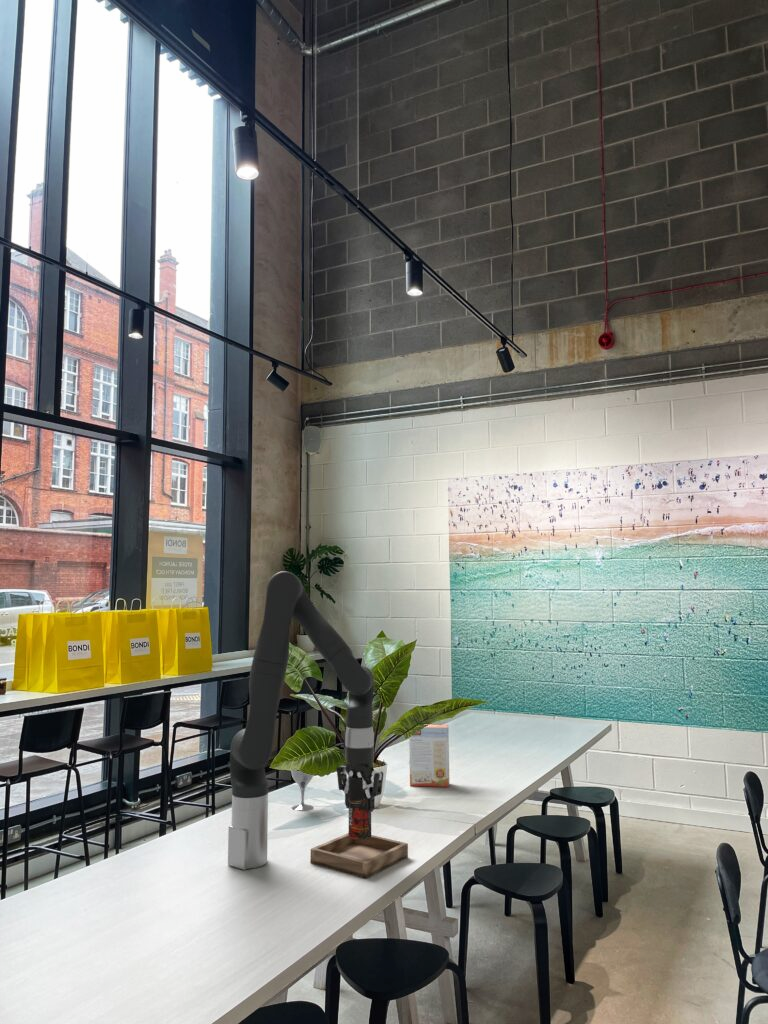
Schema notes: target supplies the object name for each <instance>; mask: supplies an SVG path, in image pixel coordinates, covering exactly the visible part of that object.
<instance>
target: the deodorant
mask: <svg viewBox="0 0 768 1024" xmlns="http://www.w3.org/2000/svg"><path fill="white" fill-rule="evenodd" d="M364 780H365V779H364ZM365 782H366V784H367V785H369V784H371V779H368V781H366V780H365ZM363 785H364V784H363V779H359V778H358V777H349V808H348V833H349V837H350V838H352V839H367V838H370V837H371V835H372V812H370V813H367V812H366V798H367V796H366V793H365V790H364V789H363ZM369 790H370V788H369Z"/></svg>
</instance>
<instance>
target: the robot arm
mask: <svg viewBox="0 0 768 1024" xmlns="http://www.w3.org/2000/svg"><path fill="white" fill-rule="evenodd" d="M263 612H264V613H263V620H262V624H261V628H260V631H259V633H258V637H257V641H256V645H255V650H254V654H253V658H252V662H251V667H250V671H249V680H248V694H249V712H248V718H247V721H246V726H245V728H243V729H241V730H238V732H236V734H235V735H234V736H233V738H232V740H231V743H230V750H229V752H230V753H229V769H230V770H229V777H230V784H231V792H232V793H231V825H229V826H228V833H227V835H228V836H227V840H228V841H227V842H228V845H227V865H228V866H230V867H234V868H237V869H240V870H243V871H244V870H248V869H255V868H259V867H262V866H264V865H266V864H267V863H268V839H269V838H268V831H269V830H268V826H269V825H268V824H269V823H268V822H269V781H268V779H267V775H266V771H265V770H266V769H265V766H266V765H267V763H268V762H269V760H270V759H271V756H272V754H273V748H274V741H275V740H274V738H275V728H276V720H277V714H278V709H279V705H280V701H281V696H282V692H283V686H284V681H285V678H286V673H287V669H288V662H289V657H290V656H289V654H290V634H291V633H290V632H291V631H290V629H291V623H292V619H294V620H295V621H296V622H297V623H298V624H299V626H300V627H301V628H302V630H303V631H304V632H305V634H306V636H307V637H308V638H309V640H310V641H311V643H312V645H313V646H314V647H315V648H316V650H317V651H318V652H319V653H320V655H321V657H323V659H324V660H325V661H326V662H327V663H328V665H330V667H331V668H332V670H333V671H334V673H335V674H336V676H337V678H338V679H339V682H340V683H341V684H342V686H343V687H344V688H345V689H346V690H347V691H348V704H347V707H346V711H345V712H346V718H345V719H346V722H345V724H346V727H345V728H346V729H345V736H344V737H345V746H344V747H345V748H344V749H345V757H344V760H345V761H344V762H345V763H346V765H343V764H342V765H340V766H337V767H336V775H337V783H338V784H337V786H338V790H339V791H343V792H344V801H345V802H344V804H345V806H346V809H349V777H358V778H359V779H363V784H364V785H363V789H364V790H365V793H366V796H367V798H366V812H367V813H370V812H371V813H372V812H373V811H374V810H375V808H376V806H375V802H376V801H375V797H377V796H380V795H382V789H383V781H384V780H383V779H384V772H383V771H376V770H375V769H374V765H373V764H374V761H375V741H374V740H375V735H374V723H373V722H374V721H373V719H374V718H373V716H374V713H373V712H374V711H373V701H374V692H375V679H374V674H373V672H372V671H371V669H370V668H368V667H367V666H365V665H361V664H360V663H359V661H358V660H357V659H356V658H355V656H354V654H353V651H352V649H351V647H350V646H349V645H348V643H347V642H346V641H345V640H344V639H343V637H342V636H341V635H340V634H339V632H338V631H336V629H335V628H334V627H333V626H332V625H331V624H330V623H329V622H328V620H327V619H325V617H324V616H323V615H322V613H320V611H319V610H318V609H317V607H316V606H315V604H314V603H313V602H312V600H311V598H310V597H309V595H308V594H307V592H306V590H305V588H304V585H303V583H302V581H301V579H300V578H299V577H298V576H297V575H295V573H292V572H290V571H286V570H285V571H283V570H281V571H278V572H277V573H275V574H273V575H272V576H271V577H270V578H269V580H268V583H267V586H266V596H265V604H264V611H263ZM364 779H365V780H366V781H368V779H371V784H369V785H367V784H366V782H365V780H364ZM369 788H370V790H369Z"/></svg>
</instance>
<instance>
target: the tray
mask: <svg viewBox="0 0 768 1024" xmlns="http://www.w3.org/2000/svg"><path fill="white" fill-rule="evenodd" d="M408 847H409V843H407V842H403V841H397V840H395V839H391V838H386V837H382V836H377V835H373V834H371V837H370V838H367V839H352V838H350V837H349V832H348V833H346V834H343V835H341V836H339V837H336V838H333V839H331V840H329V841H326V842H324V843H321V844H319V845H317V846H314V847H312V848H310V864H312V865H316V866H320V867H324V868H327V869H330V870H334V871H337V872H342V873H345V874H348V875H352V876H356V877H359V878H363V879H368V878H370V877H372V876H375V875H377V874H378V873H380V872H382V871H384V870H386V869H388V868H390V867H392V866H394V865H396V864H398V863H400V862H401V861H403V860H405V859H407V858H409V848H408Z"/></svg>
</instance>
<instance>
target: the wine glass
mask: <svg viewBox="0 0 768 1024" xmlns="http://www.w3.org/2000/svg"><path fill="white" fill-rule="evenodd" d="M290 772H291V776H292V779H293V781H294V782H295V783H296V784H297V786H298V787H299V789H300V794H301V796H300V797H301V798H300V799H301V801H300V802H301V803H299V804H294V805H293V806H291V810H294V811H297V812H301V811H302V812H303V811H305V812H306V811H310V810H313V809H314V808H315V807H314V806H313V805H312V804H308V803H307V804H306V803H305V791H306V788H307V786H308V785H309V783H310V782H311V781H312V780H313V779H314V778H313V777H314V775H315V774H314V775H310V774H306V773H303V772H301V771H297V770H291V769H290Z"/></svg>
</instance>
